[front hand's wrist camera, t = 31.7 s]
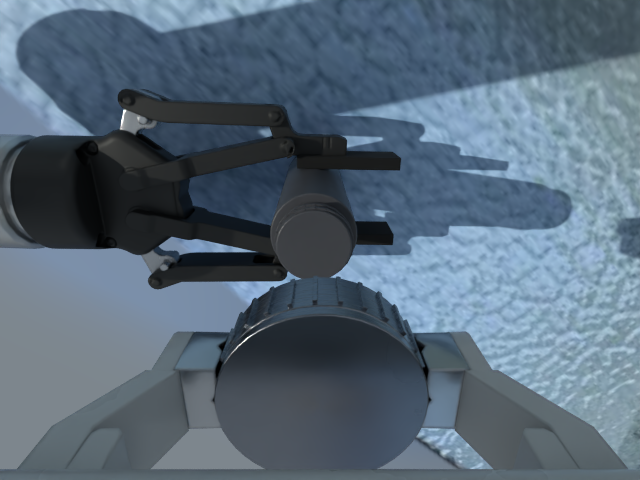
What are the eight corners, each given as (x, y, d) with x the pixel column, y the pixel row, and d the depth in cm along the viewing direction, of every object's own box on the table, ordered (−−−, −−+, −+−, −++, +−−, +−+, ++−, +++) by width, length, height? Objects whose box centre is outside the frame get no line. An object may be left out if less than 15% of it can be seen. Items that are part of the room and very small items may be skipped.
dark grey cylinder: (346, 190, 32) (372, 271, 18) (299, 207, 33) (288, 300, 18) (328, 142, 31) (342, 187, 16) (280, 161, 31) (251, 221, 17)
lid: (205, 290, 10) (182, 330, 8) (405, 259, 9) (423, 294, 8) (252, 437, 11) (240, 494, 10) (421, 414, 11) (438, 470, 9)
